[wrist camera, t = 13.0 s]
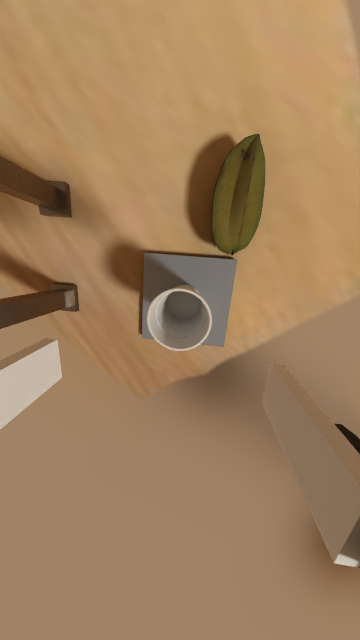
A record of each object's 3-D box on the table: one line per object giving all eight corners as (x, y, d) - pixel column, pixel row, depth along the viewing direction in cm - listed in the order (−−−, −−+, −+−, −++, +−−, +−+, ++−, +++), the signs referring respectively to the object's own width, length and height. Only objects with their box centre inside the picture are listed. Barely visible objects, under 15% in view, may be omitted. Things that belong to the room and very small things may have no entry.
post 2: (52, 283, 37) (-58, 297, 21) (77, 285, 37) (-17, 301, 21) (55, 308, 39) (-46, 338, 23) (79, 310, 38) (-8, 343, 22)
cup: (156, 312, 36) (137, 335, 24) (173, 272, 33) (161, 277, 22) (195, 329, 36) (194, 360, 24) (214, 291, 33) (223, 305, 22)
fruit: (184, 204, 31) (181, 189, 25) (248, 148, 28) (262, 114, 22) (223, 261, 33) (229, 261, 27) (287, 214, 30) (310, 200, 24)
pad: (145, 252, 34) (143, 252, 33) (235, 259, 33) (237, 259, 32) (143, 335, 39) (142, 338, 37) (222, 344, 37) (223, 346, 36)
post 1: (41, 183, 32) (-114, 103, 16) (69, 184, 32) (-62, 104, 16) (45, 215, 34) (-94, 171, 18) (71, 217, 33) (-46, 173, 17)
